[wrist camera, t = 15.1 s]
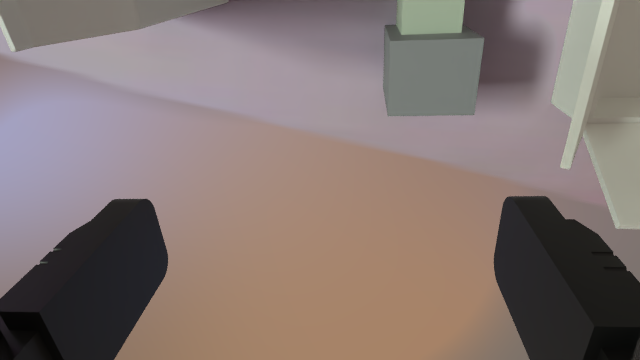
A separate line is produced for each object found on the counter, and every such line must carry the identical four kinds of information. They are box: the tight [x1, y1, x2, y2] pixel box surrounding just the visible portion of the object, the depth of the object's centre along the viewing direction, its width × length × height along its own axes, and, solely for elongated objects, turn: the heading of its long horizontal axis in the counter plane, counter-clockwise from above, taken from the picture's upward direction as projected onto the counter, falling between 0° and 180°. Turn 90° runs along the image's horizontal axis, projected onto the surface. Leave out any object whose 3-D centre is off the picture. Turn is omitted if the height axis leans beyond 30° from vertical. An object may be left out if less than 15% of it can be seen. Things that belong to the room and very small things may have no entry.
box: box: [383, 0, 484, 116], centre depth 28 cm, size 14×6×7 cm, turn 2°
